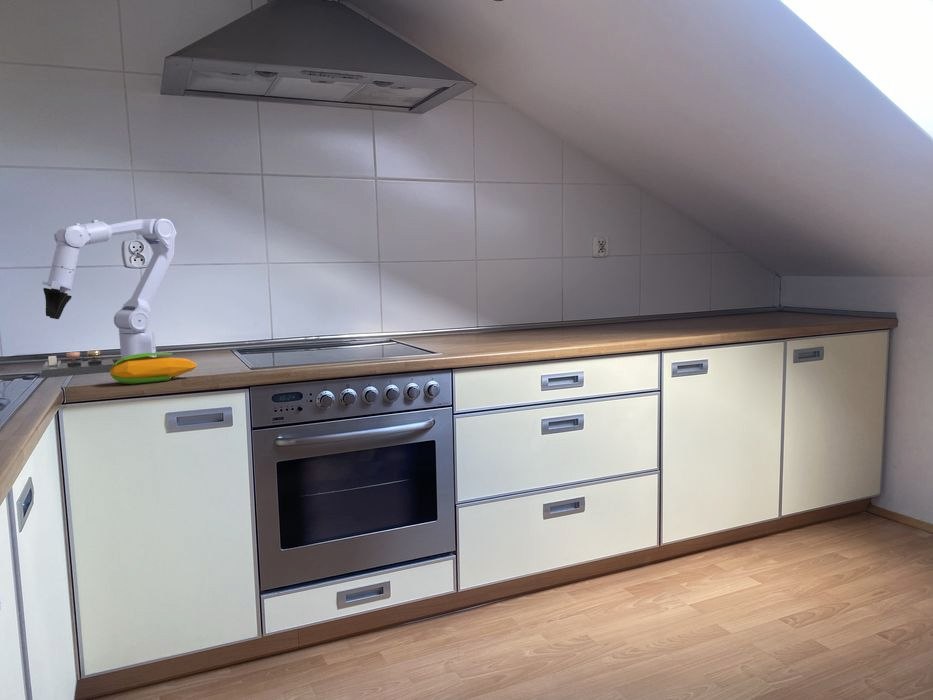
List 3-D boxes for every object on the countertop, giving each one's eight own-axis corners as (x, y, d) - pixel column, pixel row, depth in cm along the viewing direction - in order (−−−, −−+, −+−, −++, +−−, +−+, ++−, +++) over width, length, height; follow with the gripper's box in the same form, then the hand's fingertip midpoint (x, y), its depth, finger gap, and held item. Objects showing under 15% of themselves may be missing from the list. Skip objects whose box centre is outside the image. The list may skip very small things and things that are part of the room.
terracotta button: (80, 358, 192) (79, 351, 191) (80, 360, 189) (79, 352, 189) (67, 359, 190) (66, 352, 190) (67, 361, 187) (66, 353, 187)
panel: (112, 366, 199) (111, 355, 199) (114, 371, 190) (113, 360, 189) (43, 371, 191) (42, 361, 191) (42, 377, 182) (41, 366, 181)
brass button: (100, 357, 194) (100, 349, 194) (101, 358, 191) (100, 351, 191) (87, 358, 193) (87, 350, 192) (87, 359, 190) (87, 352, 189)
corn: (107, 353, 170) (193, 346, 180) (110, 383, 172) (195, 374, 182) (109, 358, 164) (198, 351, 174) (112, 389, 166) (200, 380, 176)
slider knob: (57, 363, 190) (56, 355, 190) (56, 364, 189) (56, 356, 188) (49, 364, 189) (48, 356, 189) (49, 365, 188) (48, 357, 187)
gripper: (50, 269, 194) (39, 316, 193) (42, 261, 181) (31, 312, 179) (78, 275, 197) (68, 321, 195) (73, 268, 184) (61, 318, 182)
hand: (52, 317), depth 188 cm, fingers open, 7 cm apart
